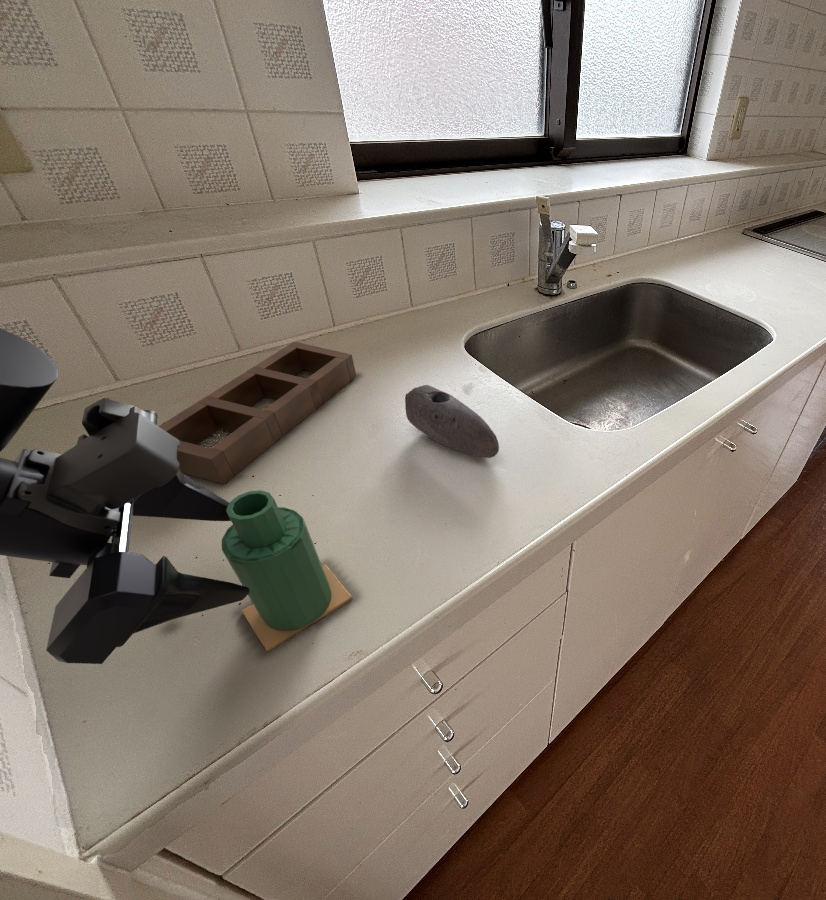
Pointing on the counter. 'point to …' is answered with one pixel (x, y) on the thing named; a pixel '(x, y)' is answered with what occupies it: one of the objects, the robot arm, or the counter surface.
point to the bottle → (275, 561)
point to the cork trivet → (276, 637)
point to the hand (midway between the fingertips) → (242, 552)
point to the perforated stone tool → (450, 422)
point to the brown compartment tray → (252, 424)
